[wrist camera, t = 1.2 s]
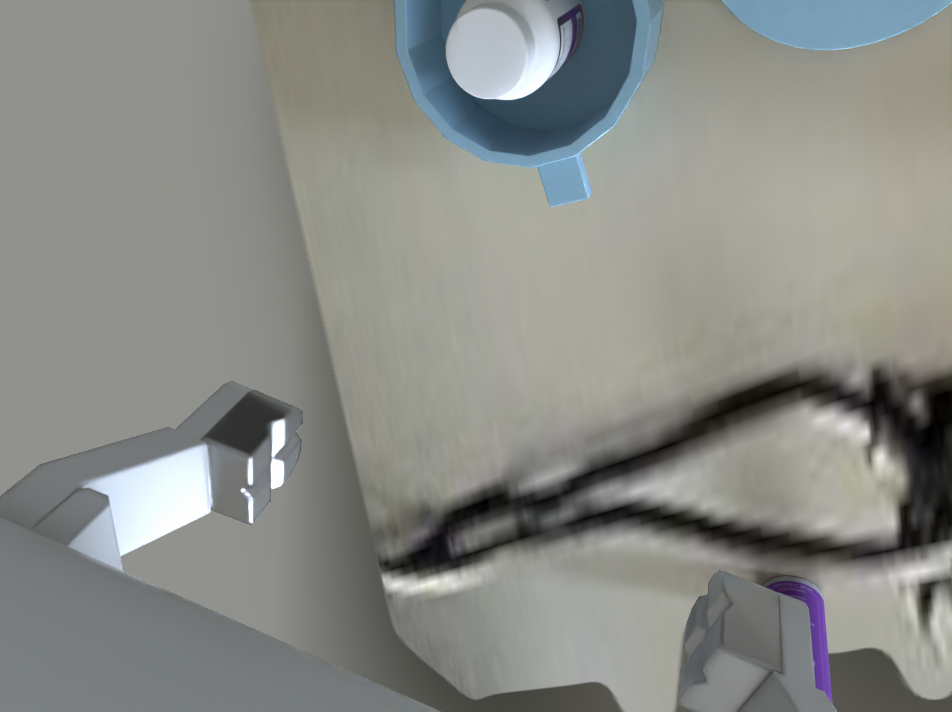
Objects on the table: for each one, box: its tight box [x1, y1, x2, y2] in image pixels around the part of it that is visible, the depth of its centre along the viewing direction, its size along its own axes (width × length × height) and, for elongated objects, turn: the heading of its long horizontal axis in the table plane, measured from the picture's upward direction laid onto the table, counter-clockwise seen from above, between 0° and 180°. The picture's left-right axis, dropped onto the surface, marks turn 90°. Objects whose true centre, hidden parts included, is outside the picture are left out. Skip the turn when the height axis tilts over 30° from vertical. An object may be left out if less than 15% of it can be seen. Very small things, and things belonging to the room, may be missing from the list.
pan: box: [394, 0, 664, 207], centre depth 38 cm, size 13×19×5 cm
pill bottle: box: [446, 0, 585, 100], centre depth 36 cm, size 5×5×10 cm
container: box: [763, 576, 832, 703], centre depth 51 cm, size 5×5×15 cm
